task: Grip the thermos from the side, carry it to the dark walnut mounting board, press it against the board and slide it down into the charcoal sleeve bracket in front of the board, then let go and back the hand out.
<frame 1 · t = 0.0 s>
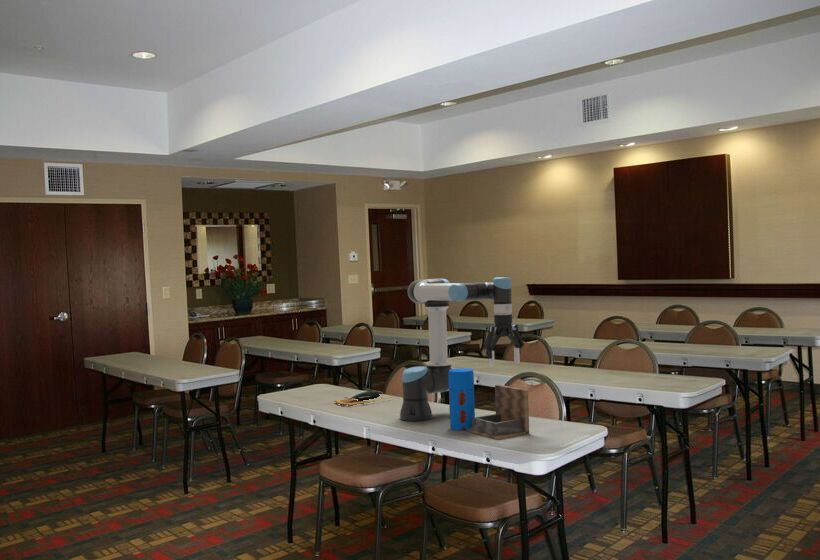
hand: (504, 365, 295), 28 cm above the table, tool pointing down, fingers open, 13 cm apart
mount board: (498, 432, 294), on the table
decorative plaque: (363, 403, 377), on the table
thermos: (462, 428, 306), on the table
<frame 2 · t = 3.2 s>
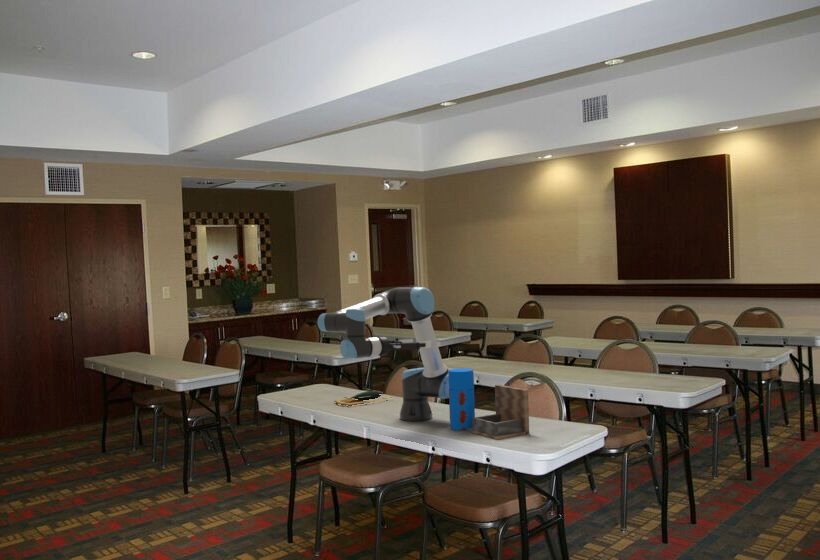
hand: (421, 343, 295), 38 cm above the table, tool horizontal, fingers open, 13 cm apart
nothing on the table moved.
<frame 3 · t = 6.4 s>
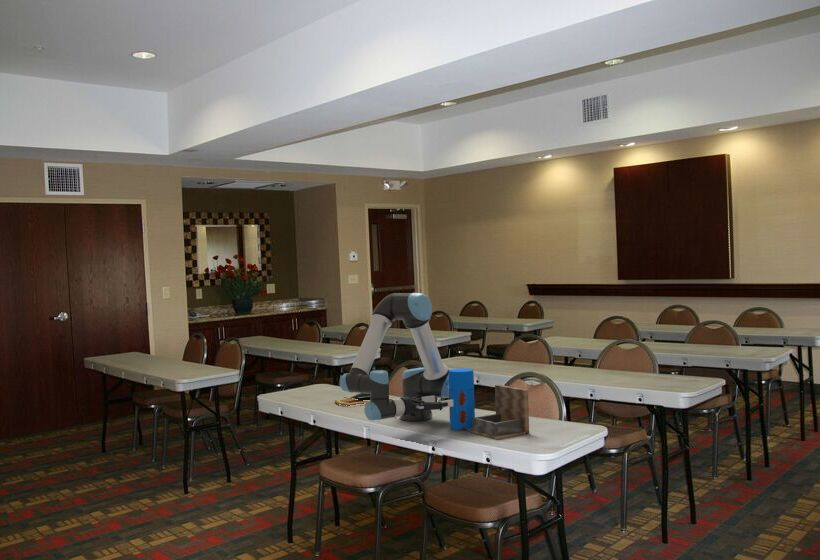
hand: (443, 400, 300), 13 cm above the table, tool horizontal, fingers open, 13 cm apart
nothing on the table moved.
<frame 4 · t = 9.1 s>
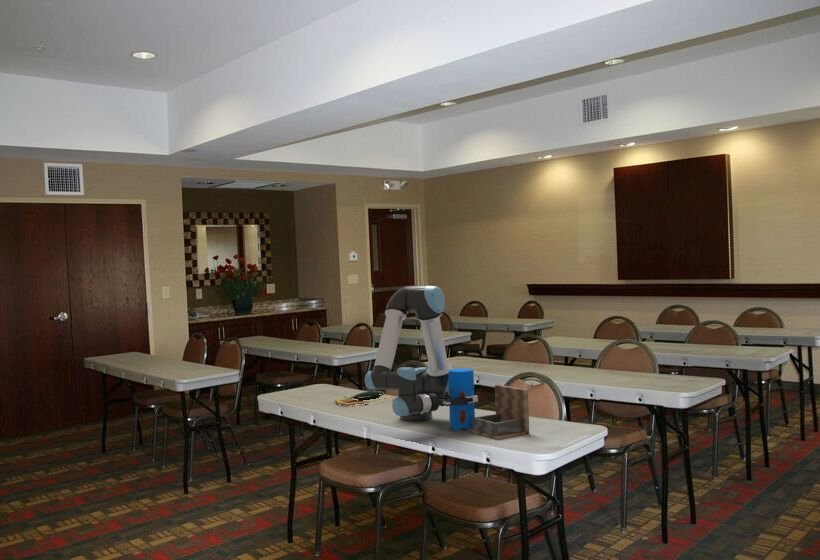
hand: (469, 396, 308), 13 cm above the table, tool horizontal, fingers closed on thermos, 11 cm apart
thermos: (462, 428, 306), on the table, touching gripper
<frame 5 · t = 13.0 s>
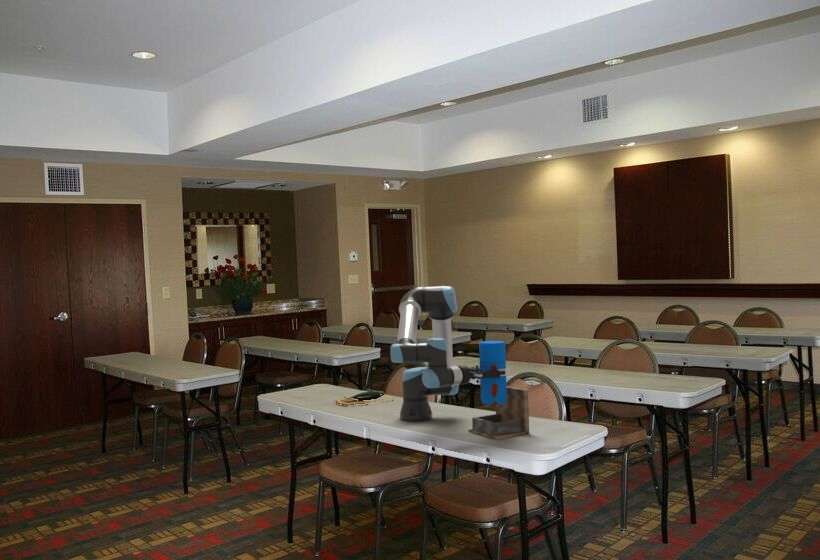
hand: (500, 370, 295), 26 cm above the table, tool horizontal, fingers closed on thermos, 11 cm apart
thermos: (493, 402, 293), point 13 cm above the table, touching gripper
when the fingers open (15 cm above the table, at t = 16.7 s): thermos drops 1 cm, resting on mount board.
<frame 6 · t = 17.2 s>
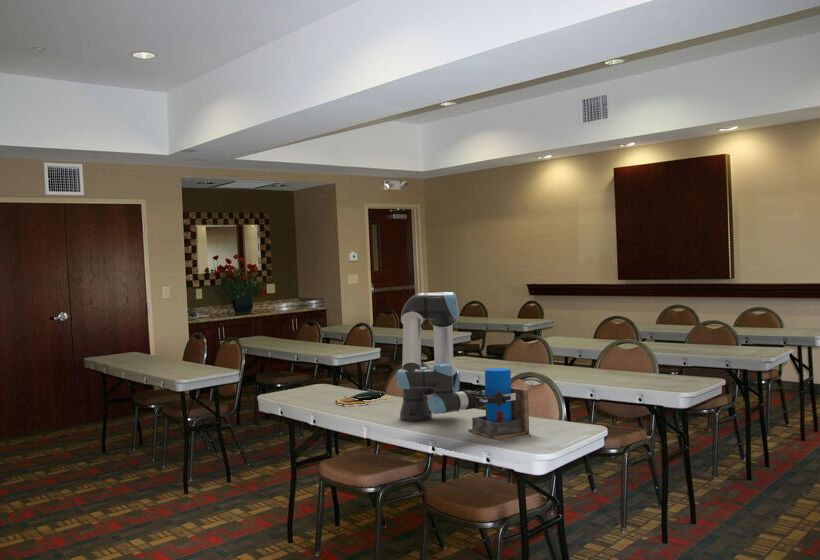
hand: (504, 394, 296), 15 cm above the table, tool horizontal, fingers open, 13 cm apart
thermos: (499, 430, 295), point 1 cm above the table, touching mount board
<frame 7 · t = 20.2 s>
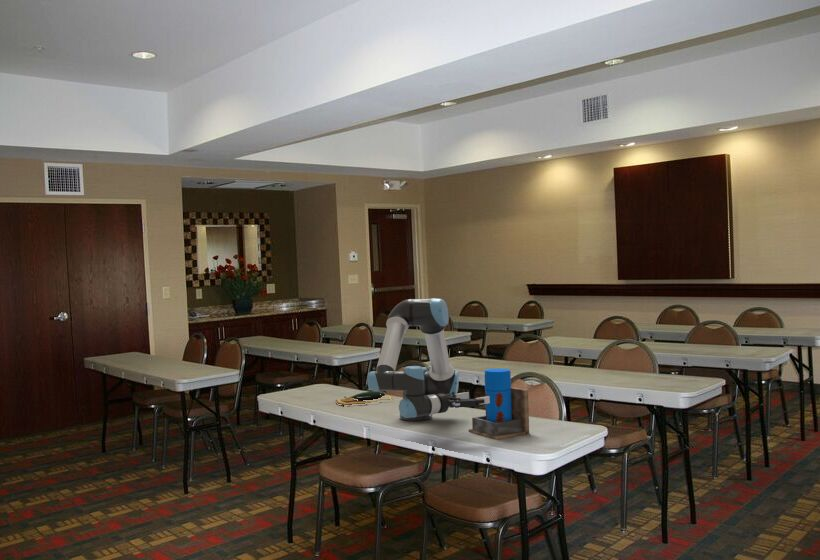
hand: (478, 397, 289), 16 cm above the table, tool horizontal, fingers open, 13 cm apart
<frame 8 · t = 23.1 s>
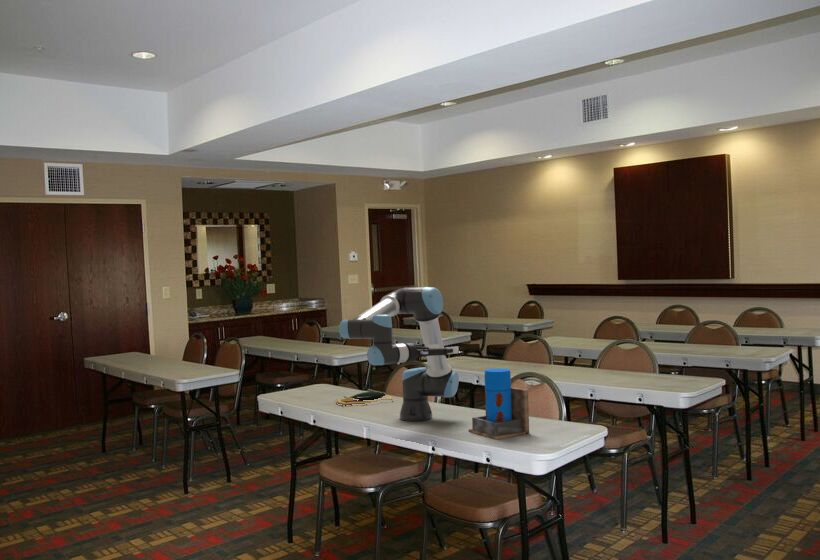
hand: (448, 348, 291), 36 cm above the table, tool horizontal, fingers open, 13 cm apart
at the end: thermos 0.2 cm off-centre on the mount board, point 0.8 cm above the mount board's base; thermos tilted 0°; the gripper is holding nothing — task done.
